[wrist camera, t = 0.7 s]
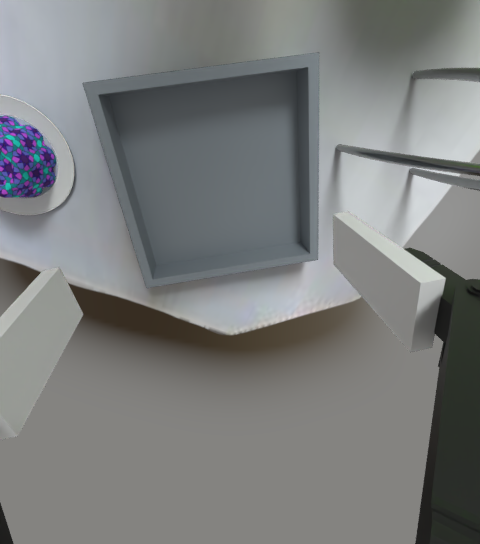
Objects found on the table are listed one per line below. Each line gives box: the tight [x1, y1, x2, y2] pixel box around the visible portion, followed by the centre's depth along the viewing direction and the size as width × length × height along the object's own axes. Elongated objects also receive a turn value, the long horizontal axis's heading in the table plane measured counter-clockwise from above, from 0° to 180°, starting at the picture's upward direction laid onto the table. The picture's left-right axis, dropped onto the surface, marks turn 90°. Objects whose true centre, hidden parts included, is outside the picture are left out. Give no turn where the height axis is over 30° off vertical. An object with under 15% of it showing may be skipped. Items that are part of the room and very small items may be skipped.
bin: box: [83, 52, 319, 288], centre depth 34 cm, size 21×21×4 cm
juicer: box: [336, 68, 480, 191], centre depth 23 cm, size 10×11×30 cm
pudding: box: [0, 94, 74, 215], centre depth 31 cm, size 12×12×5 cm
